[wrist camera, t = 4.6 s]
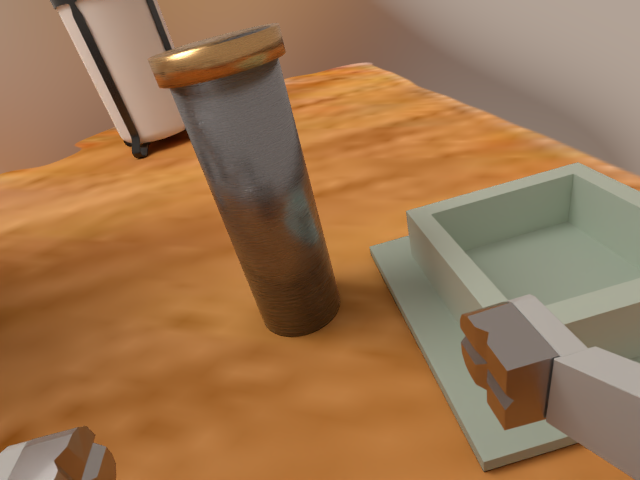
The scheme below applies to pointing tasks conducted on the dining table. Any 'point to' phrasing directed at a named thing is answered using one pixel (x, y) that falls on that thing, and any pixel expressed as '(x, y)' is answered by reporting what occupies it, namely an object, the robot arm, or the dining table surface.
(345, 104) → the dining table surface
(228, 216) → the pin
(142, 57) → the coffee press
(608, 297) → the green square tray
